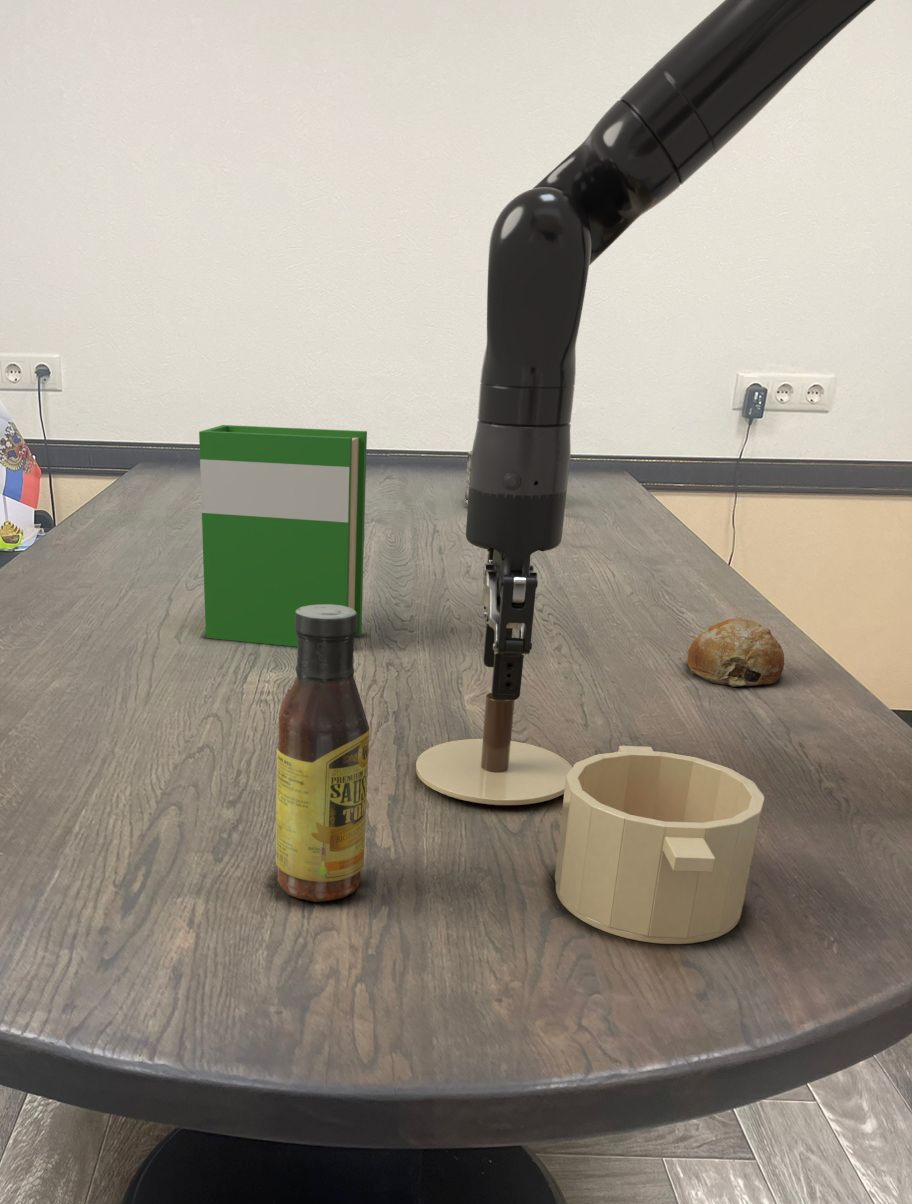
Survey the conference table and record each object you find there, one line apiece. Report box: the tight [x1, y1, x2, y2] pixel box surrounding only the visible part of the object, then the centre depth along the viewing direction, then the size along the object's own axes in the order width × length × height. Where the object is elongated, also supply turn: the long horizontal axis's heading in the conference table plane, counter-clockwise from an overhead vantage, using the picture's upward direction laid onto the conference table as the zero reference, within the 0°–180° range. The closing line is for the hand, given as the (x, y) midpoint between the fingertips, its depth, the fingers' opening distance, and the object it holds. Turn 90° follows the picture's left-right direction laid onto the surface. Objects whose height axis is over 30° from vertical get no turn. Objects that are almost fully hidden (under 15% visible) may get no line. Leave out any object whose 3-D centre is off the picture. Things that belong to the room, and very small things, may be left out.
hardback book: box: [198, 424, 368, 648], centre depth 131 cm, size 18×7×24 cm, turn 73°
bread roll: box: [686, 617, 785, 688], centre depth 122 cm, size 10×10×8 cm
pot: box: [554, 745, 766, 945], centre depth 76 cm, size 13×18×8 cm
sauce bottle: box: [275, 604, 371, 903], centre depth 75 cm, size 6×6×20 cm
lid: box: [415, 691, 573, 806], centre depth 95 cm, size 14×14×8 cm
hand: (500, 681), depth 93 cm, fingers open, 8 cm apart
